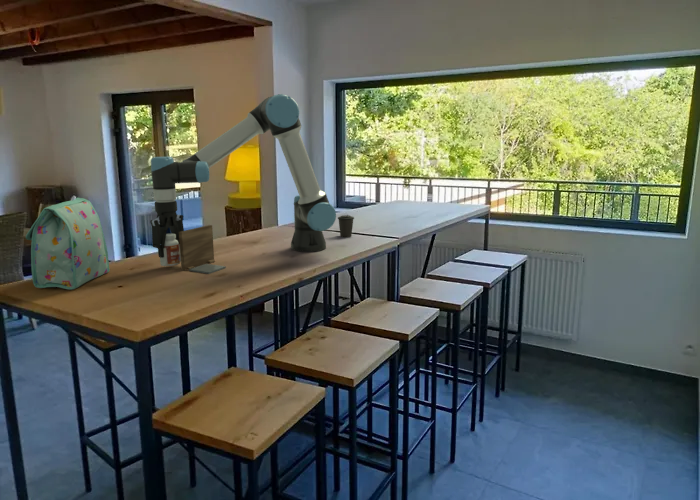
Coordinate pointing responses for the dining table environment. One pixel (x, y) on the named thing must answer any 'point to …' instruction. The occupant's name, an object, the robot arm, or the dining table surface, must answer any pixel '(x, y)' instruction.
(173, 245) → the pill bottle
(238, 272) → the dining table surface
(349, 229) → the coffee cup
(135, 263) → the dining table surface
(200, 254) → the wooden board
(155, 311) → the dining table surface
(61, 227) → the lunch bag
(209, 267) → the coaster
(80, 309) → the dining table surface
